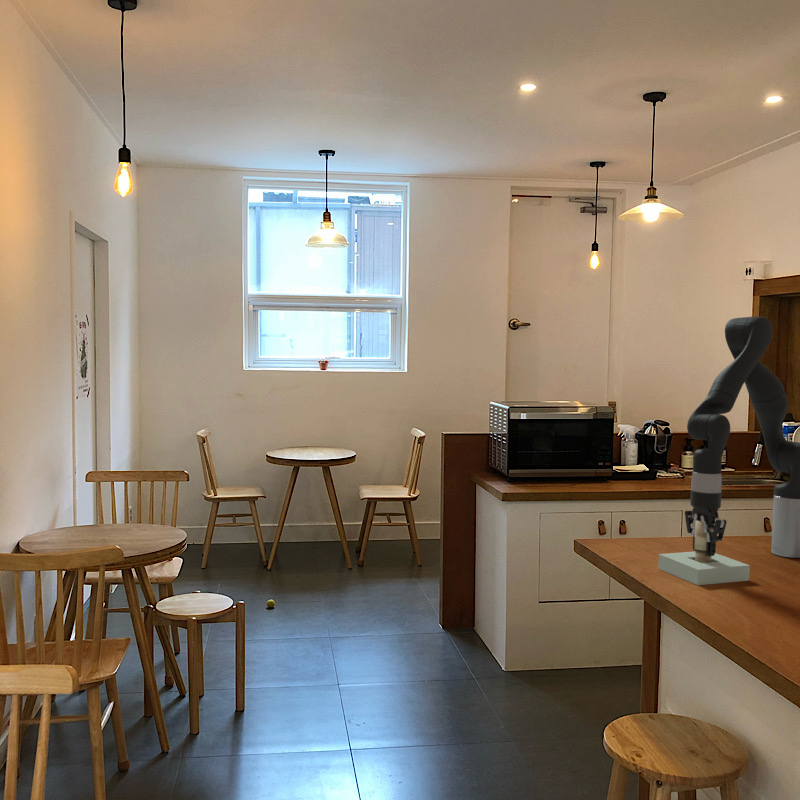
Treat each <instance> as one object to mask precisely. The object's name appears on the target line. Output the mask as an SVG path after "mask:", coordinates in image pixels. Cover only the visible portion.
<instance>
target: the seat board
mask: <svg viewBox="0 0 800 800" xmlns="http://www.w3.org/2000/svg"><path fill="white" fill-rule="evenodd" d="M750 567H751V565H749V564H748V563H744V562H742V561H739V560H736V559H733V558H730V557H728V556H724V555H722V554H719V553H716V552H715V555H714V556H712V557H711V562H709V563H700V562H697V561H695V551H694V550H693V551H683V552H672V553H671V552H668V553H659V554H658V567H657V568H658V569H659V570H661V571H663V572H665V573H667V574H670V575H672V576H674V577H676V578H678V579H679V578H680V579H682V580H683V581H686V582H689V583H691V584H694V585H696V586H703V585H705V586H706V585H716V584H726V583H727V584H728V583H738V582H746V581H747V582H748V581H750V572H751V571H750V570H751V568H750Z"/></svg>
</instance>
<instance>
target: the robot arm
mask: <svg viewBox="0 0 800 800" xmlns="http://www.w3.org/2000/svg"><path fill="white" fill-rule="evenodd" d="M773 332H774V331H773V325H772V323H771V321H770V320H769V319H768V318H767V317H765V316H746V317H745V316H744V317H735V318H731V319H728V320H727V322H726V323H725V327H724V337H725V341H726V344H727V347H728V349H729V351H730V353H731V355H732V357H733V359H734V360H733V361H731V362H730V363H729V364H728V365H727V366H725V368H723V370H722V371H720V373H718V375H717V376H716V377H715V379H714V381H713V382H712V385H711V386H710V389H709V391H708V393H707V395H706V397H705V399H703V400H702V402H701V403H700V404H699V405H698V406H697V407H696V408H695V410H694V411H692V413H691V415H690V416H689V418H688V420H687V426H686V429H687V432H688V435H689V436H690V437H691V438H692V439H695V440H700V441H709V444H708V446H707V448H701V449H700V448H699V449H696V450H695V451H694V452H693V456H692V457H693V459H692V474H691V483H690V484H691V485H690V503H689V504H690V506H691V507H692V509H691V510H684V517H685V518H684V519H685V524H686V525H685V526H686V531H687V533H688V534H691V537H692V550H693V552H694V551H695V550H694V546H695V520H700V521H701V522H704V533H706V538H707V541H708V542H707V544H706V555H707V556H714V555H715V553H716V551H717V550H716V549H717V542H721V541H722V540H723V538H724V535H725V530H726V527H727V520H726V519H722V518H720V516H719V513H718V512H719V511H718V510H719V509H720V508H722V507H721V506H722V491H723V490H722V487H723V482H722V481H723V480H722V479H723V478H722V460H723V455H724V452H725V448H726V445H727V442H728V439H729V436H730V433H731V424H730V420H729V419H728V417H726V416H725V415H724V414H727V413H730V412H731V411H732V410H733V408H734V405H735V404H736V401H737V398H738V397H739V395H740V394H739V393H740V391H741V389H742V387H743V386H744V384H745V387H746V391H747V392H748V396H749V399H750V402H751V405H752V409H753V410H754V412H755V414H756V418H757V421H758V423H759V426H760V430H761V433H762V437H763V440H764V445H765V450H766V455H767V458H768V461H769V463H770V465H771V467H772V468H773V469H774V470H775V471H778V472H781V473H787V474H790V480H788V481H787V482H783V483H779V484H776V485H775V486H774V489H773V506H772V507H773V509H772V526H771V528H772V529H771V554H773V555H775V556H780V557H785V558H792V559H793V558H795V559H796V558H798V559H799V558H800V442H797V441H790V440H789V441H788V440H786V438H785V435H784V433H783V429H782V426H783V425H782V424H783V423H784V422H783V421H784V420H785V417H786V415H787V412H788V409H789V399H788V396H787V394H786V392H785V388H784V385H783V383H782V381H781V380H780V379H779V378H778V376H776V374H774V372H773V371H771V370H770V369H769V368H768V367H767V366H766V365H764V364H763V363H762V362H761V361H760V359H761V358H762V356H763V355H764V353H765V352H766V351H767V349H768V347H769V345H770V344H771V342H772V338H773ZM713 526H714V528H713V530H709V529H708V528H709V527H713ZM710 533H712V537H711V535H710Z"/></svg>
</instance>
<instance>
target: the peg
mask: <svg viewBox="0 0 800 800" xmlns="http://www.w3.org/2000/svg"><path fill="white" fill-rule="evenodd" d="M713 528H714V526H713V527H709V528H708V529H709V530H713ZM710 535H711V537H712V533H710ZM707 542H708V541H707V538H706V533H704V522H701V521H700V520H695V546H694V550H695V561H697V562H700V563H709V562H711V557H712V556H707V555H706V544H707ZM694 550H693V551H694Z"/></svg>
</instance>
